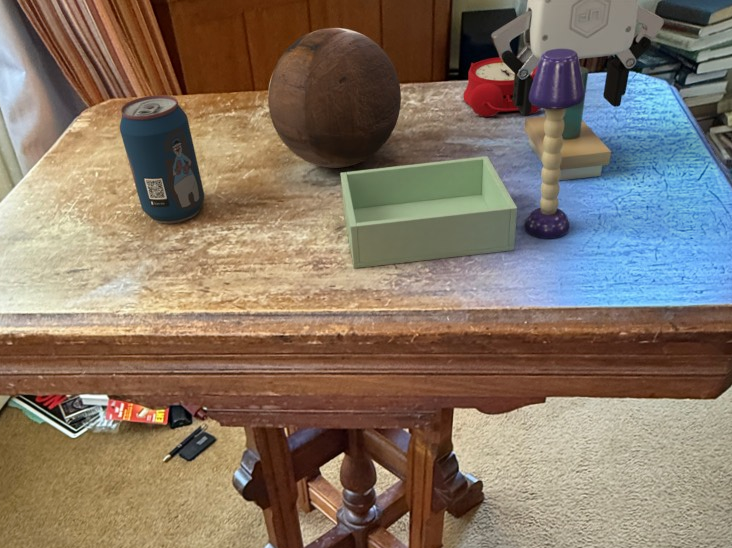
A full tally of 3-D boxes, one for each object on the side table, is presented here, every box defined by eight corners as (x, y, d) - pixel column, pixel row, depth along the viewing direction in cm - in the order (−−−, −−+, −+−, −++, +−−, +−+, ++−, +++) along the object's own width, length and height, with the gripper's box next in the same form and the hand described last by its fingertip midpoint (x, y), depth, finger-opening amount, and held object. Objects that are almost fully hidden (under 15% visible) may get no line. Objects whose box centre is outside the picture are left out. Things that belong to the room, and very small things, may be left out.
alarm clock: (535, 53, 99) (559, 63, 86) (533, 100, 102) (556, 117, 88) (459, 58, 100) (471, 69, 87) (459, 105, 103) (470, 122, 89)
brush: (523, 142, 86) (530, 57, 80) (572, 136, 86) (583, 51, 80) (551, 183, 77) (562, 91, 71) (607, 177, 77) (622, 85, 71)
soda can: (157, 196, 83) (130, 93, 76) (214, 196, 82) (192, 91, 74) (134, 226, 78) (103, 119, 70) (195, 227, 76) (169, 118, 69)
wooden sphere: (421, 143, 88) (420, 14, 79) (370, 199, 78) (361, 58, 69) (315, 130, 94) (302, 8, 85) (254, 180, 84) (231, 48, 75)
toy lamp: (519, 239, 69) (534, 63, 59) (517, 215, 73) (530, 45, 62) (571, 238, 68) (596, 60, 58) (566, 214, 72) (588, 42, 62)
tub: (485, 195, 76) (487, 155, 74) (514, 250, 68) (517, 207, 65) (343, 211, 76) (340, 172, 73) (353, 268, 67) (350, 226, 65)
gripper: (509, -55, 64) (496, 128, 75) (700, -75, 64) (661, 111, 75) (488, -70, 70) (479, 102, 81) (663, -88, 70) (632, 86, 81)
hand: (567, 106), depth 78 cm, fingers open, 9 cm apart
